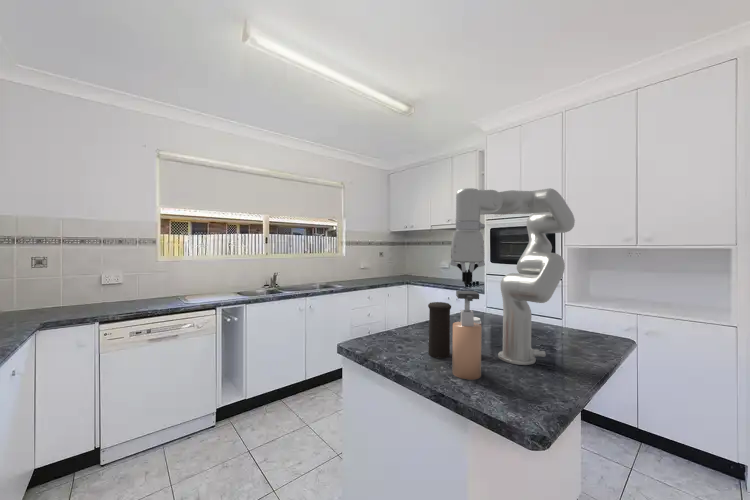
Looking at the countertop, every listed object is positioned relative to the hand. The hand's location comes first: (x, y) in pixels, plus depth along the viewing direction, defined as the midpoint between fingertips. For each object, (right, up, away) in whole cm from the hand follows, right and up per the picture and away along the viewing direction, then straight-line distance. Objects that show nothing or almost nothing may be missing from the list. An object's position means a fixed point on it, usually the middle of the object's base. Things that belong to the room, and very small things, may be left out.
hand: (467, 284), depth 103 cm
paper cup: (+7, -29, +19) cm, 35 cm away
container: (-5, -29, +19) cm, 35 cm away
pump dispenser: (0, -29, +1) cm, 29 cm away
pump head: (0, -9, -2) cm, 9 cm away
